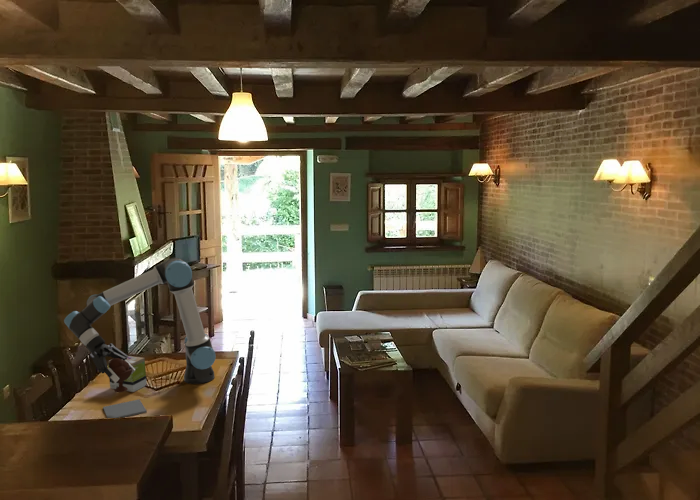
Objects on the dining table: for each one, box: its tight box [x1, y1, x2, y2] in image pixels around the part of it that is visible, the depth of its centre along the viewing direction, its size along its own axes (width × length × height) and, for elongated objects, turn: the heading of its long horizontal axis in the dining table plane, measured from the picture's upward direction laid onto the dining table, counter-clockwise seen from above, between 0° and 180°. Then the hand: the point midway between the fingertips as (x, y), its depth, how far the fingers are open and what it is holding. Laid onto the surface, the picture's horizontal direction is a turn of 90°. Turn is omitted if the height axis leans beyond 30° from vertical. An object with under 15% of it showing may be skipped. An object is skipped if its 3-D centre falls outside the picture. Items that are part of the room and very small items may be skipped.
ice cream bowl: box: [106, 358, 133, 393], centre depth 275 cm, size 11×11×15 cm
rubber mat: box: [102, 399, 147, 419], centre depth 278 cm, size 16×16×1 cm
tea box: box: [107, 355, 148, 393], centre depth 306 cm, size 15×10×15 cm, turn 68°
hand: (125, 376), depth 274 cm, fingers closed on ice cream bowl, 11 cm apart
